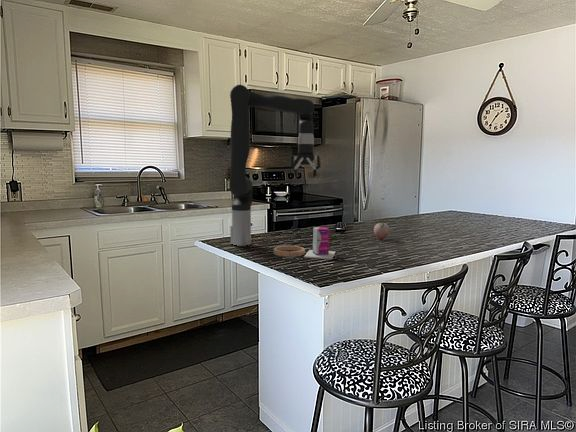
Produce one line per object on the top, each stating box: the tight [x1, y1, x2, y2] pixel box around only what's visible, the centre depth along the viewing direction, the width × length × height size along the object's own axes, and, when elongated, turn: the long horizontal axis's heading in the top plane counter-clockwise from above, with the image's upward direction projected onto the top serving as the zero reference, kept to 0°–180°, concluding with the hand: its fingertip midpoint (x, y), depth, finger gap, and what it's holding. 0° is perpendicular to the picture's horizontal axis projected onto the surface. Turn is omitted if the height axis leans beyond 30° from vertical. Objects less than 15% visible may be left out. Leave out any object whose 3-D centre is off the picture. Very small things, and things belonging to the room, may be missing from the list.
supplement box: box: [312, 226, 330, 255], centre depth 180 cm, size 6×6×12 cm
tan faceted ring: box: [273, 245, 306, 258], centre depth 184 cm, size 14×14×2 cm
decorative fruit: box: [373, 220, 391, 240], centre depth 217 cm, size 9×8×10 cm
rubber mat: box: [303, 249, 337, 260], centre depth 181 cm, size 12×13×1 cm
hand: (305, 177), depth 199 cm, fingers open, 8 cm apart
